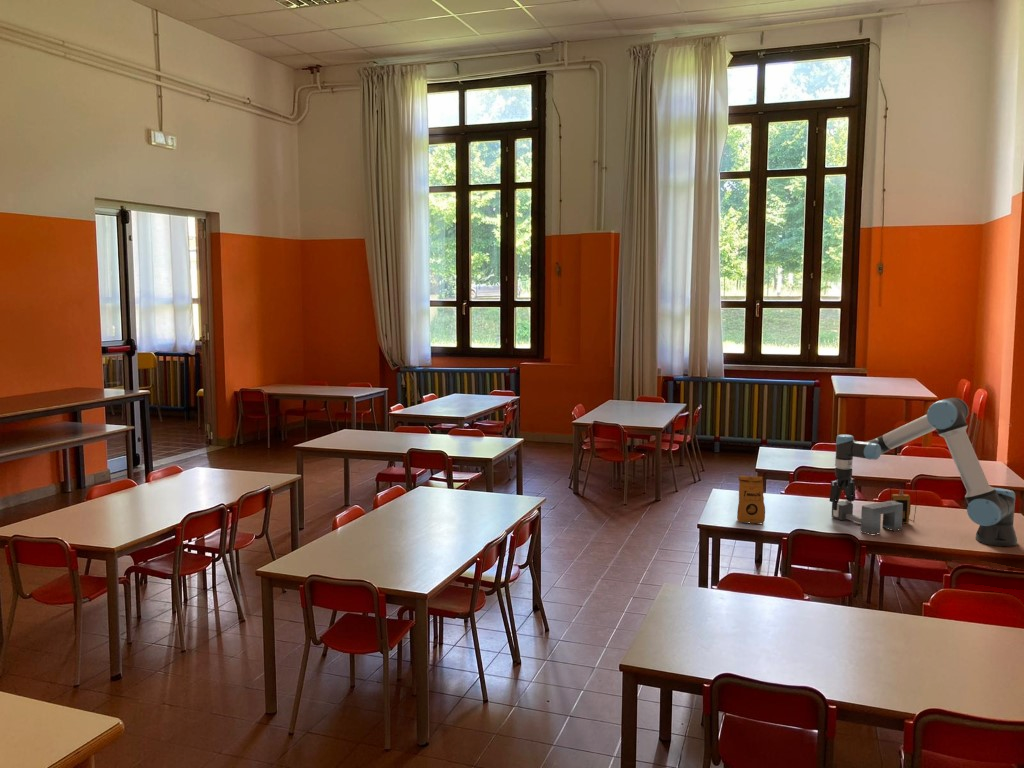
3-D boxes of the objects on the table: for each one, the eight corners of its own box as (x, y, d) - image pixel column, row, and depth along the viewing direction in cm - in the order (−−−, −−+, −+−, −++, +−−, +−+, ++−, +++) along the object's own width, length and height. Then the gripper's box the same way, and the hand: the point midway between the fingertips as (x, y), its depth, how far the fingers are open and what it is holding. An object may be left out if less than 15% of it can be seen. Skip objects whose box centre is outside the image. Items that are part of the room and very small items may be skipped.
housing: (901, 529, 359) (903, 503, 358) (872, 535, 351) (873, 509, 350) (890, 526, 365) (891, 500, 363) (860, 531, 356) (861, 505, 355)
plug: (877, 525, 364) (878, 510, 363) (866, 528, 361) (867, 512, 360) (842, 515, 382) (842, 500, 381) (831, 517, 378) (832, 502, 378)
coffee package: (764, 526, 366) (766, 479, 364) (736, 524, 370) (737, 477, 367) (764, 520, 376) (766, 474, 373) (737, 518, 379) (738, 473, 377)
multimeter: (908, 517, 378) (910, 476, 376) (917, 523, 368) (919, 481, 366) (876, 517, 379) (878, 475, 377) (884, 523, 369) (886, 480, 367)
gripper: (834, 471, 367) (832, 520, 370) (865, 466, 376) (863, 514, 378) (821, 468, 374) (820, 516, 376) (852, 463, 382) (850, 510, 385)
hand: (841, 515), depth 377 cm, fingers closed on plug, 7 cm apart
